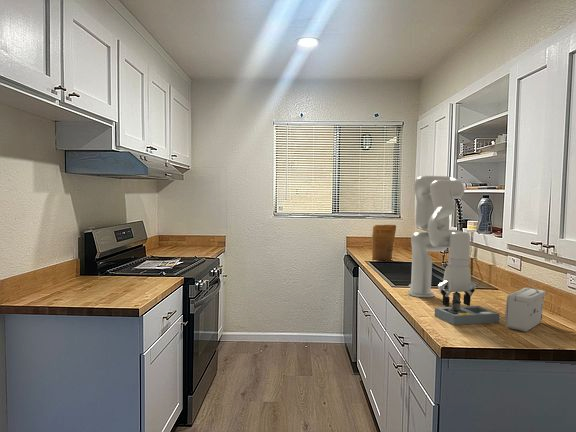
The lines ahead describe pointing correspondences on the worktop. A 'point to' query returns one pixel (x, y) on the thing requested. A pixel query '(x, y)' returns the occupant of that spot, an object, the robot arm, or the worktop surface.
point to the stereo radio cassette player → (524, 308)
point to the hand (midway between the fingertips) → (456, 305)
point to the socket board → (467, 315)
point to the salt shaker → (456, 304)
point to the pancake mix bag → (383, 241)
